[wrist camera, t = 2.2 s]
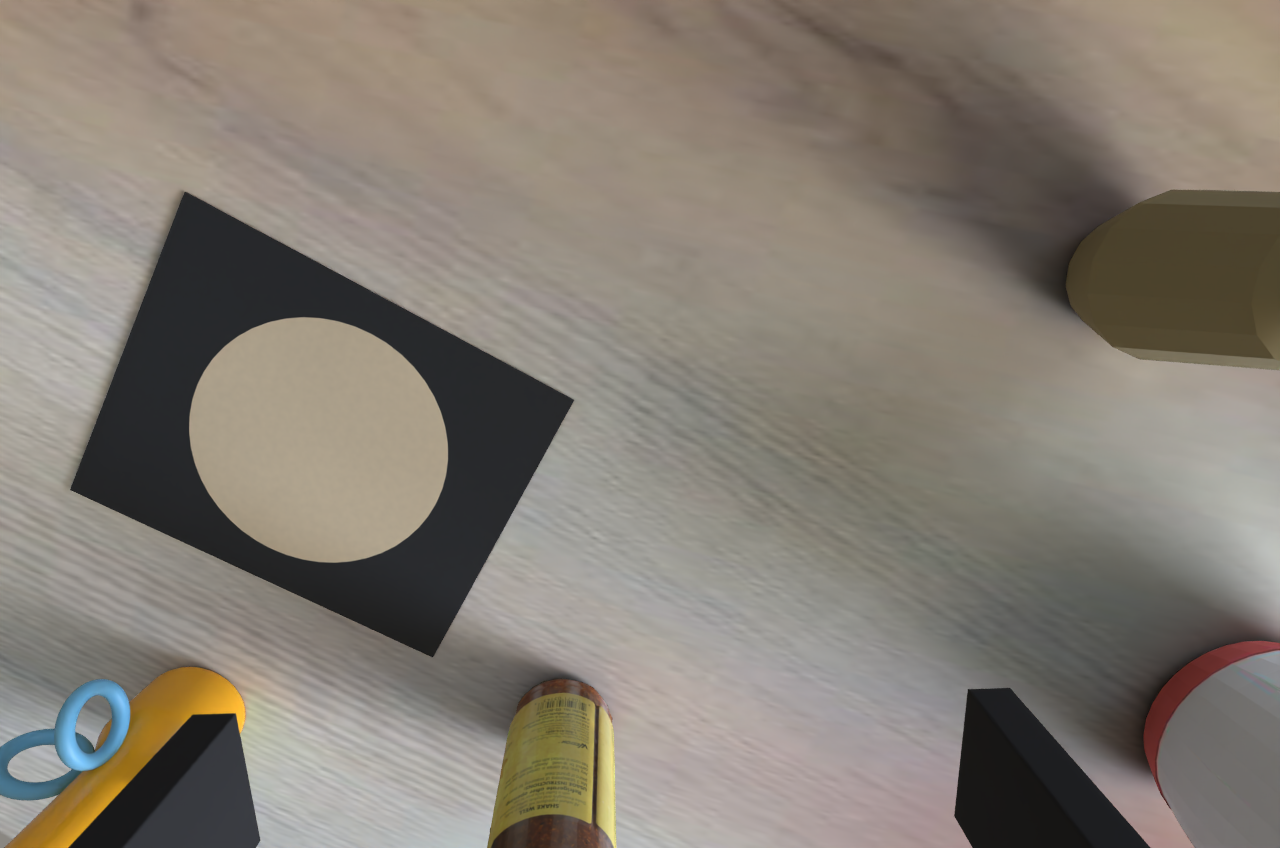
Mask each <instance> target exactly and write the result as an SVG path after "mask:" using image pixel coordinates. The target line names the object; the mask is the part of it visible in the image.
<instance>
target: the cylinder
mask: <svg viewBox="0 0 1280 848" xmlns="http://www.w3.org/2000/svg"><path fill="white" fill-rule="evenodd" d="M96 695H101V696H103V697H104V698H106V699H107V701H108V702H109V704H110V707H111V711H112V719H111V720H110V721H109V722H108V723H107V724H106V725H105V727H104V728H103V730H102V731H101V733H100V735H99V738H98V741H97V744H96V748H95V750H94V747H93V745H92V744H91V742H90V741H89V740H88V739H87V738H86V737H84V736H83V735H81V734H79V733H76V732H75V727H76V721H77V718H78V715H79V712H80V710H81V708H82V707H83V705H84V704H85V703H86V702H87V701H88V700H89V699H90V698H91V697H93V696H96ZM225 713H236V716H237V722H238V727H239V732H240V733H241V731H242V729H243V726H244V722H245V707H244V702H243V700H242V698H241V696H240V694H239V692H238V691H237V690H236V688H235V687H234V686H233V685H232V684H231V683H230V682H229V681H228V680H227V679H225V678H223V677H222V676H221V675H219V674H217V673H215V672H213V671H210V670H207V669H203V668H198V667H180V668H177V669H172V670H170V671H167V672H165V673H163V674H161V675H160V676H158V677H157V678H156V679H154V680H153V681H152V682H151V683H150V684H149V685H148V686H147V687H145V688H144V689H143V690H142V691H141V692H140V693H139V694H138V695H137V696H136V697H135V698H133V699H132V700H131V701H130V702H129V700H128V697H127V695H126V693H125V691H124V690H123V689H122V688H121V687H120V686H119V685H118V684H117V683H115V682H113V681H111V680H107V679H96V680H92V681H89V682H87V683H85V684H83V685H81V686H80V687H78V688H77V689H76V690H75V691H74V692H73V693H72V694H71V695H70V696H69V697H68V698H67V700H66V701H65V703H64V704H63V706H62V708H61V710H60V712H59V714H58V717H57V720H56V724H55V729H43V730H37V731H32V732H29V733H26V734H23V735H20V736H18V737H16V738H14V739H12V740H10V741H8V742H7V743H5V744H4V745H3V746H1V747H0V795H2V796H5V797H7V798H11V799H16V800H39V799H45V798H49V797H53V796H56V795H58V796H57V797H56V798H55V799H54V800H53V801H52V802H51V803H50V804H49V805H48V806H47V807H46V808H45V809H44V810H43V811H42V812H41V813H39V814H38V815H37V816H36V817H35V818H34V819H33V820H32V821H31V822H30V823H29V824H28V825H27V826H26V827H25V828H24V829H23V830H22V831H21V832H20V833H19V834H18V835H17V836H16V837H15V838H14V839H13V840H12V841H11V842H10V843H8V844H7V845H6V846H5V847H4V848H68V847H69V846H70V845H71V844H72V843H73V842H74V841H75V840H76V839H77V838H78V837H79V835H80V834H81V833H82V832H83V831H84V830H85V829H86V828H87V827H88V826H89V825H90V824H91V823H92V822H93V821H94V819H95V818H96V817H97V816H98V815H99V814H100V813H101V812H102V811H103V810H104V809H105V808H106V807H107V806H108V804H109V803H110V802H111V801H112V800H113V799H114V798H115V797H116V796H117V795H118V794H119V793H120V792H121V791H122V789H123V788H124V787H125V786H126V785H127V784H128V783H129V782H130V781H131V780H132V779H133V778H134V777H135V776H136V774H137V773H138V772H139V771H140V770H141V769H142V768H143V767H144V766H145V765H146V764H147V763H148V762H149V761H150V759H151V758H152V757H153V756H154V755H155V754H156V753H157V752H158V751H159V750H160V749H161V748H162V747H163V746H164V744H165V743H166V742H167V741H168V740H169V739H170V738H171V737H172V736H173V735H174V734H175V733H176V732H177V731H178V730H179V728H180V727H181V726H182V725H183V724H184V723H185V722H186V721H187V720H188V719H189V718H190V717H191V716H192V715H194V714H225ZM40 745H55V748H56V751H57V754H58V756H59V758H60V759H61V761H62V762H63V763H64V764H65V765H66V766H68V767H69V768H71V769H72V770H71V771H69V772H68V773H67V774H65V775H63V776H61V777H59V778H57V779H54V780H50V781H46V782H36V783H33V782H24V781H20V780H18V779H16V778H14V777H12V776H11V775H10V774H9V772H8V769H7V766H8V763H9V761H10V760H11V759H12V758H13V757H14V756H15V755H16V754H18V753H19V752H21V751H23V750H25V749H28V748H31V747H35V746H40Z"/></svg>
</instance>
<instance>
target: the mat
mask: <svg viewBox="0 0 1280 848" xmlns="http://www.w3.org/2000/svg"><path fill="white" fill-rule="evenodd" d="M573 401H574V400H573V399H571V398H569V397H567V396H565V395H564V394H562V393H560V392H558V391H556V390H554V389H552V388H551V387H549V386H547V385H545V384H543V383H541V382H539V381H537V380H536V379H534V378H532V377H530V376H528V375H526V374H524V373H523V372H521V371H519V370H517V369H515V368H513V367H511V366H509V365H508V364H506V363H504V362H502V361H500V360H498V359H496V358H494V357H493V356H491V355H489V354H487V353H485V352H483V351H481V350H480V349H478V348H476V347H474V346H472V345H470V344H468V343H466V342H465V341H463V340H461V339H459V338H457V337H455V336H453V335H452V334H450V333H448V332H446V331H444V330H442V329H440V328H438V327H437V326H435V325H433V324H431V323H429V322H427V321H425V320H424V319H422V318H420V317H418V316H416V315H414V314H412V313H410V312H409V311H407V310H405V309H403V308H401V307H399V306H397V305H396V304H394V303H392V302H390V301H388V300H386V299H384V298H382V297H381V296H379V295H377V294H375V293H373V292H371V291H369V290H368V289H366V288H364V287H362V286H360V285H358V284H356V283H354V282H353V281H351V280H349V279H347V278H345V277H343V276H341V275H339V274H338V273H336V272H334V271H332V270H330V269H328V268H326V267H325V266H323V265H321V264H319V263H317V262H315V261H313V260H311V259H310V258H308V257H306V256H304V255H302V254H300V253H298V252H297V251H295V250H293V249H291V248H289V247H287V246H285V245H283V244H282V243H280V242H278V241H276V240H274V239H272V238H270V237H269V236H267V235H265V234H263V233H261V232H259V231H257V230H255V229H254V228H252V227H250V226H248V225H246V224H244V223H242V222H241V221H239V220H237V219H235V218H233V217H231V216H229V215H227V214H226V213H224V212H222V211H220V210H218V209H216V208H214V207H213V206H211V205H209V204H207V203H205V202H203V201H201V200H199V199H198V198H196V197H194V196H192V195H190V194H188V193H186V192H184V195H183V198H182V200H181V203H180V206H179V208H178V211H177V213H176V216H175V219H174V221H173V224H172V226H171V229H170V232H169V234H168V237H167V239H166V242H165V245H164V247H163V250H162V252H161V255H160V258H159V260H158V263H157V265H156V268H155V271H154V273H153V276H152V278H151V281H150V284H149V286H148V289H147V291H146V294H145V297H144V299H143V302H142V304H141V307H140V310H139V312H138V315H137V317H136V320H135V323H134V325H133V328H132V330H131V333H130V336H129V338H128V341H127V343H126V346H125V349H124V351H123V354H122V356H121V359H120V362H119V364H118V367H117V369H116V372H115V375H114V377H113V380H112V382H111V385H110V388H109V390H108V393H107V395H106V398H105V401H104V403H103V406H102V408H101V411H100V414H99V416H98V419H97V421H96V424H95V427H94V429H93V432H92V434H91V437H90V440H89V442H88V445H87V447H86V450H85V453H84V455H83V458H82V460H81V463H80V466H79V468H78V471H77V473H76V476H75V479H74V481H73V484H72V486H71V489H70V490H72V491H74V492H76V493H78V494H80V495H82V496H85V497H87V498H89V499H91V500H93V501H95V502H98V503H100V504H102V505H104V506H106V507H108V508H111V509H113V510H115V511H117V512H119V513H121V514H124V515H126V516H128V517H130V518H132V519H134V520H136V521H139V522H141V523H143V524H145V525H147V526H149V527H152V528H154V529H156V530H158V531H160V532H162V533H165V534H167V535H169V536H171V537H173V538H175V539H178V540H180V541H182V542H184V543H186V544H188V545H191V546H193V547H195V548H197V549H199V550H201V551H204V552H206V553H208V554H210V555H212V556H214V557H217V558H219V559H221V560H223V561H225V562H227V563H230V564H232V565H234V566H236V567H238V568H240V569H242V570H245V571H247V572H249V573H251V574H253V575H255V576H258V577H260V578H262V579H264V580H266V581H268V582H271V583H273V584H275V585H277V586H279V587H281V588H284V589H286V590H288V591H290V592H292V593H294V594H297V595H299V596H301V597H303V598H305V599H307V600H310V601H312V602H314V603H316V604H318V605H320V606H323V607H325V608H327V609H329V610H331V611H333V612H336V613H338V614H340V615H342V616H344V617H346V618H349V619H351V620H353V621H355V622H357V623H359V624H361V625H364V626H366V627H368V628H370V629H372V630H374V631H377V632H379V633H381V634H383V635H385V636H387V637H390V638H392V639H394V640H396V641H398V642H400V643H403V644H405V645H407V646H409V647H411V648H413V649H416V650H418V651H420V652H422V653H424V654H426V655H429V656H431V657H433V656H434V654H435V653H436V651H437V649H438V647H439V645H440V644H441V642H442V640H443V638H444V636H445V634H446V633H447V631H448V629H449V627H450V625H451V624H452V622H453V620H454V618H455V616H456V614H457V613H458V611H459V609H460V607H461V605H462V603H463V602H464V600H465V598H466V596H467V594H468V593H469V591H470V589H471V587H472V585H473V583H474V582H475V580H476V578H477V576H478V574H479V572H480V571H481V569H482V567H483V565H484V563H485V562H486V560H487V558H488V556H489V554H490V552H491V551H492V549H493V547H494V545H495V543H496V542H497V540H498V538H499V536H500V534H501V532H502V531H503V529H504V527H505V525H506V523H507V521H508V520H509V518H510V516H511V514H512V512H513V511H514V509H515V507H516V505H517V503H518V501H519V500H520V498H521V496H522V494H523V492H524V490H525V489H526V487H527V485H528V483H529V481H530V480H531V478H532V476H533V474H534V472H535V470H536V469H537V467H538V465H539V463H540V461H541V459H542V458H543V456H544V454H545V452H546V450H547V449H548V447H549V445H550V443H551V441H552V439H553V438H554V436H555V434H556V432H557V430H558V429H559V427H560V425H561V423H562V421H563V419H564V418H565V416H566V414H567V412H568V410H569V408H570V407H571V405H572V403H573Z"/></svg>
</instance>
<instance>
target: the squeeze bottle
mask: <svg viewBox="0 0 1280 848" xmlns="http://www.w3.org/2000/svg"><path fill="white" fill-rule="evenodd" d="M1066 289H1067V293H1068V297H1069V301H1070V305H1071V307H1072V308H1073V309H1074V311H1075V312H1076V313H1077V314H1078V315H1079V317H1080V318H1081V319H1082V320H1083V321H1084V322H1085V323H1086V324H1087V325H1088V326H1089V327H1090V328H1092V329H1093V330H1094V331H1095V332H1096V333H1097V334H1098V335H1100V336H1101V337H1102V338H1103V339H1104V340H1105V341H1107V342H1108V343H1109V344H1110V345H1111V346H1112V347H1114V348H1116V349H1118V350H1121V351H1123V352H1125V353H1127V354H1129V355H1132V356H1134V357H1136V358H1138V359H1143V360H1156V361H1169V362H1182V363H1194V364H1207V365H1220V366H1233V367H1245V368H1258V369H1271V370H1280V192H1259V191H1221V190H1170V191H1167V192H1165V193H1162V194H1160V195H1157V196H1155V197H1152V198H1150V199H1147V200H1145V201H1142V202H1140V203H1138V204H1136V205H1134V206H1132V207H1131V208H1129V209H1127V210H1125V211H1124V212H1122V213H1120V214H1119V215H1117V216H1115V217H1113V218H1112V219H1110V220H1108V221H1106V222H1105V223H1103V224H1101V225H1099V226H1098V227H1097V228H1096V229H1095V230H1094V231H1092V232H1091V233H1090V234H1089V235H1088V236H1087V237H1086V238H1085V239H1084V240H1082V241H1081V242H1080V244H1079V246H1078V248H1077V250H1076V251H1075V253H1074V255H1073V257H1072V259H1071V260H1070V262H1069V266H1068V273H1067V279H1066Z"/></svg>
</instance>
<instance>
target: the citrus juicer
mask: <svg viewBox="0 0 1280 848" xmlns="http://www.w3.org/2000/svg"><path fill="white" fill-rule="evenodd" d="M1143 737H1144V751H1145V754H1146V757H1147V760H1148V763H1149V766H1150V769H1151V771H1152V774H1153V777H1154V779H1155V782H1156V784H1157V786H1158V789H1159V791H1160V793H1161V795H1162V797H1163V798H1164V800H1165V801H1166V803H1167V805H1168V806H1169V808H1170V809H1171V810H1172V811H1173V813H1174V815H1175V817H1176V819H1177V820H1178V822H1179V824H1180V826H1181V827H1182V829H1183V830H1184V832H1185V833H1186V835H1187V837H1188V838H1189V840H1190V841H1191V843H1192V844H1193V846H1194V847H1195V848H1280V643H1275V642H1268V641H1244V642H1239V643H1235V644H1230V645H1225V646H1223V647H1220V648H1217V649H1215V650H1212V651H1210V652H1207V653H1205V654H1203V655H1202V656H1200V657H1198V658H1196V659H1195V660H1193V661H1191V662H1190V663H1188V664H1187V665H1186V666H1185V667H1183V668H1182V669H1181V670H1180V671H1178V672H1177V673H1176V674H1175V675H1174V676H1173V677H1172V678H1171V679H1170V680H1169V681H1168V682H1167V683H1166V684H1165V686H1164V687H1163V688H1162V689H1161V691H1160V692H1159V694H1158V695H1157V697H1156V699H1155V700H1154V702H1153V703H1152V706H1151V708H1150V711H1149V713H1148V716H1147V718H1146V723H1145V729H1144V735H1143Z"/></svg>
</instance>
